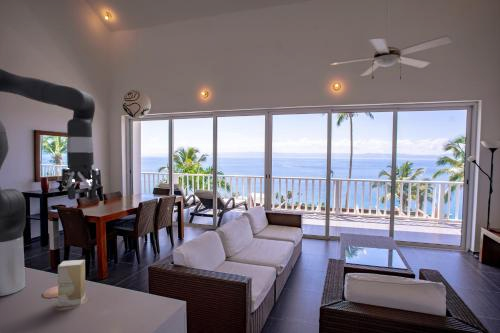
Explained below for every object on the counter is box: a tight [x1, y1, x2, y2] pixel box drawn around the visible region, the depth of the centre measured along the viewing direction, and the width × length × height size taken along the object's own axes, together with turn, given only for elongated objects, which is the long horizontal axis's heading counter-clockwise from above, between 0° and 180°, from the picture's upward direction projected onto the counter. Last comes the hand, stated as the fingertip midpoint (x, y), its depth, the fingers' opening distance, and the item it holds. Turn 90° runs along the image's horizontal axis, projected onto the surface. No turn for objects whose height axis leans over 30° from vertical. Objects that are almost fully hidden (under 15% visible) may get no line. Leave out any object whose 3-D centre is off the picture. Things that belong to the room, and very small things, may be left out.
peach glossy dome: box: [42, 285, 58, 299], centre depth 94 cm, size 8×8×1 cm
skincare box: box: [57, 259, 86, 307], centre depth 87 cm, size 6×4×12 cm
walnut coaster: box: [52, 294, 89, 311], centre depth 87 cm, size 9×9×1 cm
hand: (81, 199), depth 96 cm, fingers open, 8 cm apart
